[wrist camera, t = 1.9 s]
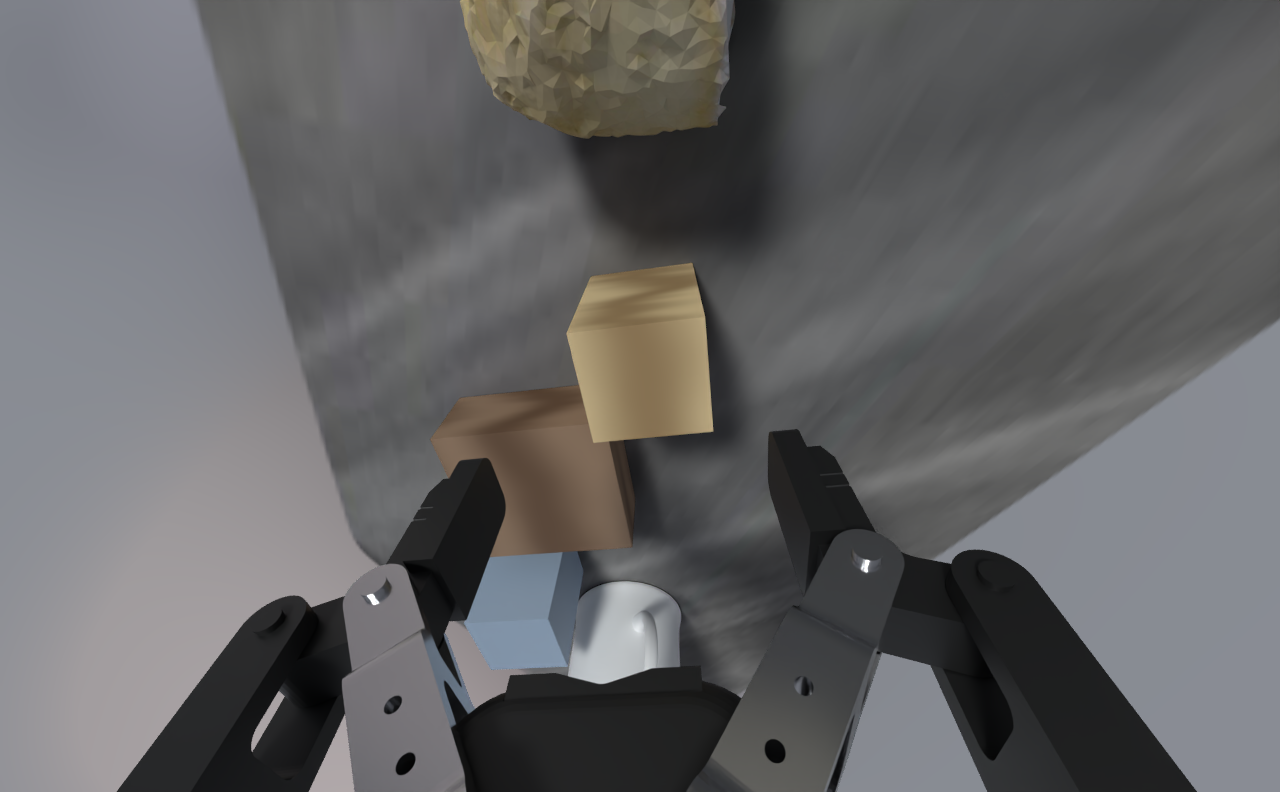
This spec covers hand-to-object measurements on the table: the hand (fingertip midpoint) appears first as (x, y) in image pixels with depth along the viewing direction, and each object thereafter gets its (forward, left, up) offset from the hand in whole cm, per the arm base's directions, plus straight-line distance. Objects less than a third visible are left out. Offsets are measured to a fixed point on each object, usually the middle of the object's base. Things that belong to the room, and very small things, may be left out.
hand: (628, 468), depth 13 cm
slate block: (+10, +17, -12) cm, 23 cm away
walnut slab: (+7, +8, -12) cm, 16 cm away
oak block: (0, 0, -12) cm, 12 cm away
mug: (+4, +24, -12) cm, 27 cm away
